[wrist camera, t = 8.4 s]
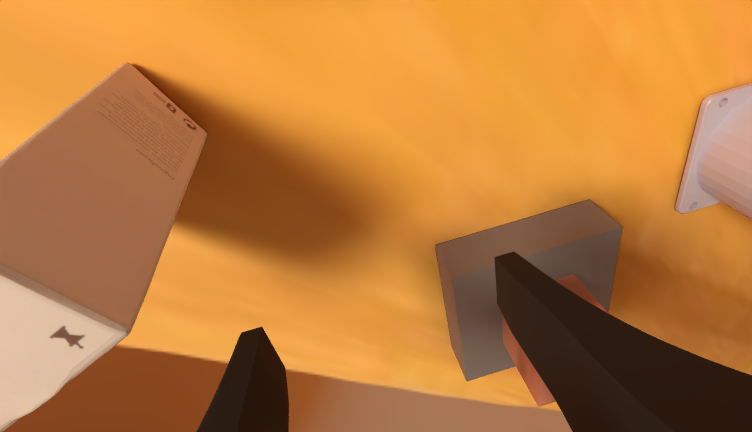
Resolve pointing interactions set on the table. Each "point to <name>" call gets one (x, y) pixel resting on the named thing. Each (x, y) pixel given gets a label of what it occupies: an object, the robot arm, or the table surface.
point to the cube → (520, 358)
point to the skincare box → (85, 231)
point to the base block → (539, 247)
